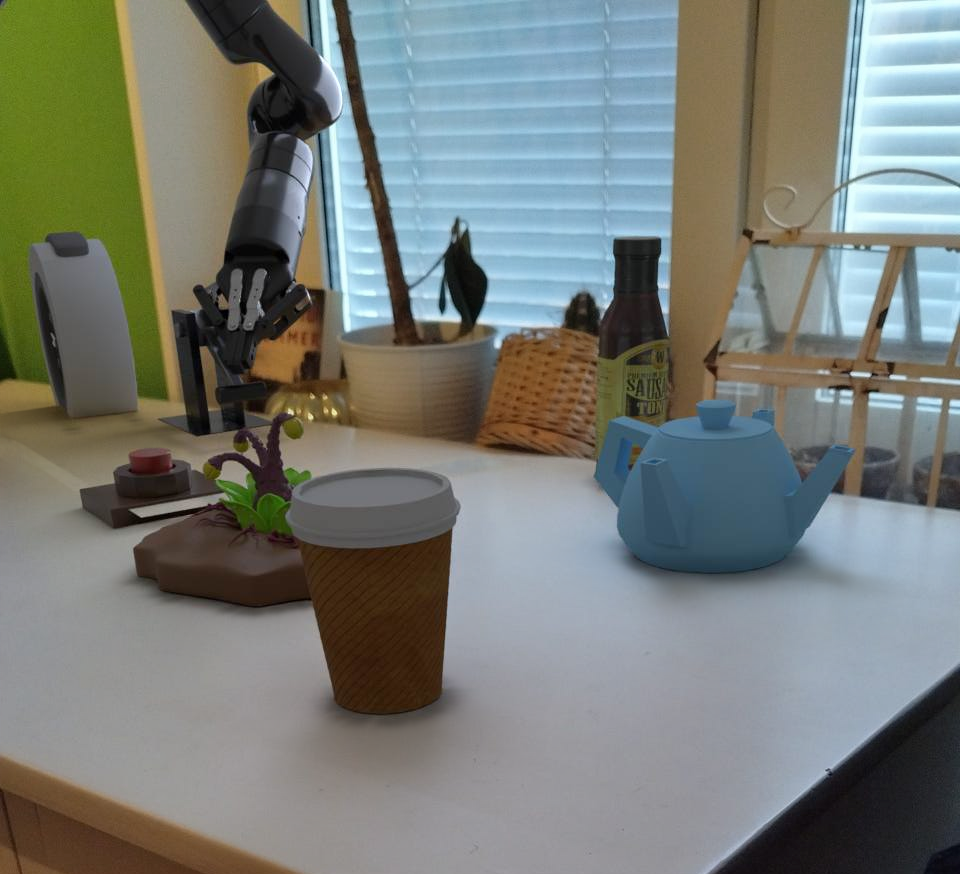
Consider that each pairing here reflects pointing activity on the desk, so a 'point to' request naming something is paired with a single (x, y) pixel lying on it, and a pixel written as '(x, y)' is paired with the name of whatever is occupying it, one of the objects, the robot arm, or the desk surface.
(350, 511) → the disposable coffee cup
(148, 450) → the button
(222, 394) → the lever
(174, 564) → the plant
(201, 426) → the black upright frame
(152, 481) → the button block
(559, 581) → the desk surface
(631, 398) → the sauce bottle
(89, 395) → the alarm clock
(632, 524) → the teapot
